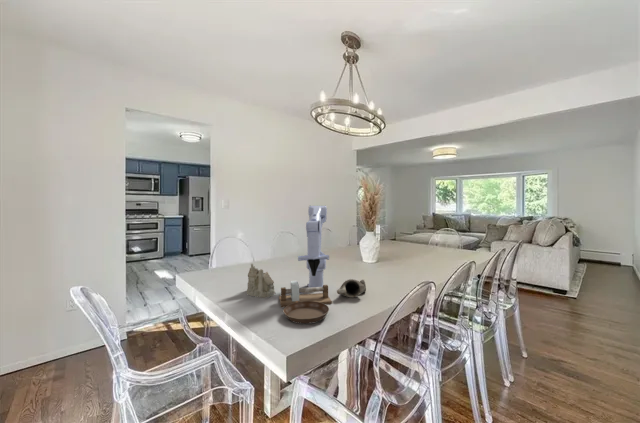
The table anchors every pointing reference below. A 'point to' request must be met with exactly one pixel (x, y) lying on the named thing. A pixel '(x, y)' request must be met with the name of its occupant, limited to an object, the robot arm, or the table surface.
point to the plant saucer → (306, 312)
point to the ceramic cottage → (260, 283)
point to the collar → (295, 291)
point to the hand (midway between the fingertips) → (313, 275)
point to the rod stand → (305, 295)
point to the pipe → (352, 288)
